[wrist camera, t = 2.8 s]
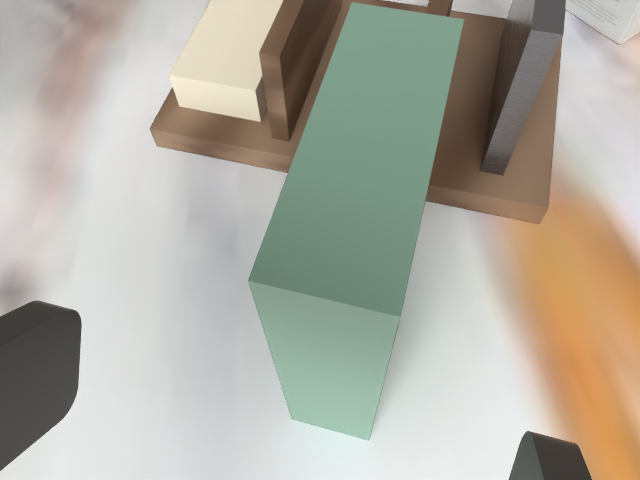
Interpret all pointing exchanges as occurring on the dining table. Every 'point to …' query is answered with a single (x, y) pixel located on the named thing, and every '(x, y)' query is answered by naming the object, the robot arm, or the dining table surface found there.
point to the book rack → (457, 125)
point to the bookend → (520, 75)
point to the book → (354, 214)
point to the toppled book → (226, 59)
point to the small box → (609, 16)
